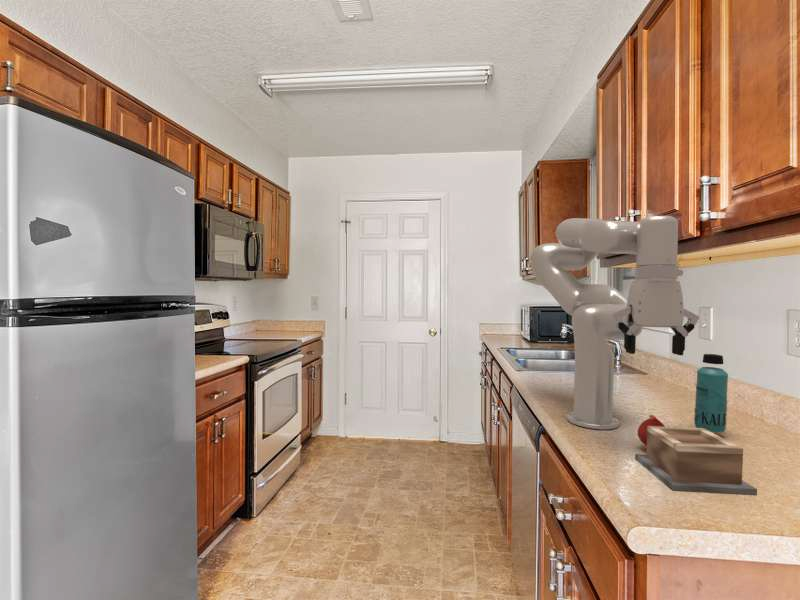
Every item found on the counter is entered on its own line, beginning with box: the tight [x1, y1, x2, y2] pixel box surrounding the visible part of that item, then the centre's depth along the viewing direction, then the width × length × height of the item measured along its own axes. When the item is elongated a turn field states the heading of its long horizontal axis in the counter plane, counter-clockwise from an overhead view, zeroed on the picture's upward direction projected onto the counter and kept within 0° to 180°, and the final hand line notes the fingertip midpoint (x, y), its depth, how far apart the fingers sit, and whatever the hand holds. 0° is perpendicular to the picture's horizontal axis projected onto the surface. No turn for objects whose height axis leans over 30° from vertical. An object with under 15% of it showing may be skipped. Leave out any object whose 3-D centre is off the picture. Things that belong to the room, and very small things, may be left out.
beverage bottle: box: [693, 353, 729, 434], centre depth 104 cm, size 6×7×20 cm
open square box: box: [634, 426, 758, 496], centre depth 81 cm, size 14×14×8 cm
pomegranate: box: [637, 414, 666, 448], centre depth 93 cm, size 6×6×8 cm
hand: (653, 353), depth 91 cm, fingers open, 9 cm apart
